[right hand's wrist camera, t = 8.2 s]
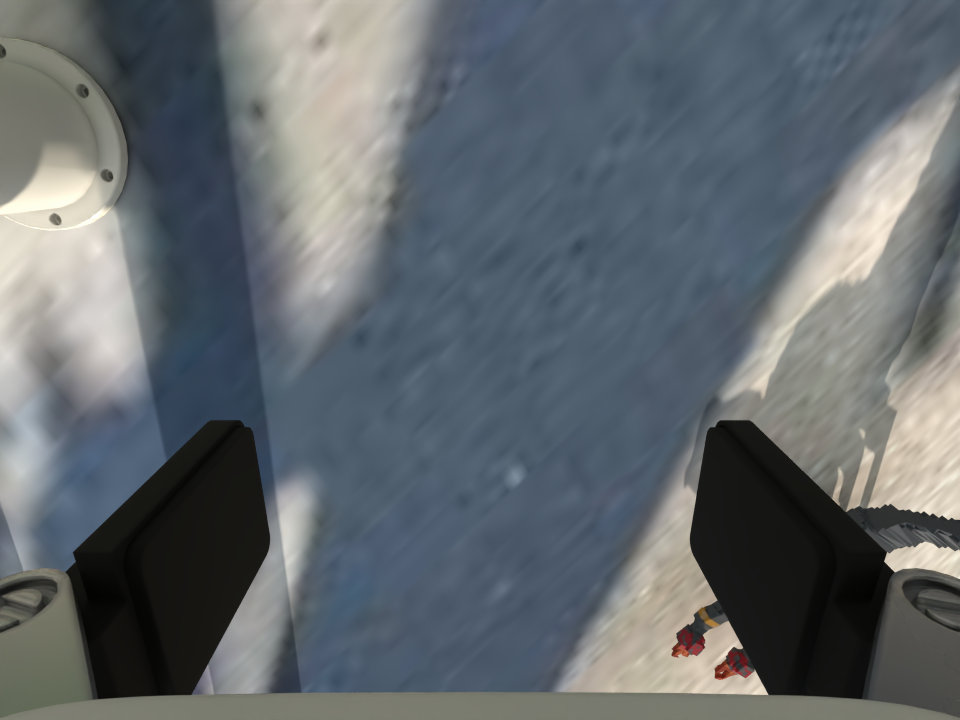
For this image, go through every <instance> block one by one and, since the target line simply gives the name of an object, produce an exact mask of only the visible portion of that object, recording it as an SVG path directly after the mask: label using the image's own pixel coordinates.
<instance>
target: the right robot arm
mask: <svg viewBox="0 0 960 720" xmlns="http://www.w3.org/2000/svg"><path fill="white" fill-rule="evenodd" d="M88 90H89V94H88ZM127 166H128V154H127V144H126V139H125V136H124V132H123V128H122V125H121V122H120V120H119V118H118V116H117V114H116V111H115V109H114V107H113V105H112V104H111V102H110V101H109V99H108V98H107V96H106V95H105V93H104V91H103V90H102V89H101V88H100V86H99V85H98V84H97V83H96V82H95V81H94V80H93V79H92V77H91V76H90V75H89V74H88V73H87V72H85V71H84V70H83V69H82V68H81V67H79V66H78V65H77V64H76V63H75V62H73V61H72V60H70V59H69V58H67V57H65V56H64V55H62V54H60V53H59V52H57V51H55V50H53V49H50V48H47V47H45V46H42V45H40V44H37V43H33V42H29V41H25V40H21V39H14V38H2V37H0V215H3V216H5V217H7V218H9V219H10V220H12V221H14V222H17V223H20V224H23V225H26V226H28V227H32V228H38V229H43V230H66V229H72V228H78V227H81V226H84V225H87V224H90V223H92V222H94V221H96V220H97V219H99V218H100V217H102V216H103V215H105V214H106V213H107V212H108V211H109V210H110V209H111V208H112V206H113V205H114V204H115V203H116V201H117V199H118V197H119V196H120V194H121V192H122V190H123V186H124V183H125V180H126V177H127ZM112 174H113V176H112ZM269 545H270V533H269V527H268V521H267V514H266V508H265V502H264V496H263V490H262V484H261V478H260V472H259V466H258V460H257V453H256V447H255V441H254V435H253V431H252V430H251V428H249V427H244V425H243V423H242V422H241V421H240V420H211V421H209V422H207V423H206V424H205V425H204V426H203V427H202V428H201V429H200V430H199V431H198V432H197V433H196V434H195V435H194V436H193V437H192V438H191V439H190V440H189V441H188V442H187V443H186V444H185V445H184V446H183V447H182V448H180V449H179V450H178V451H177V452H176V453H175V454H174V455H173V456H172V457H171V458H170V459H169V460H168V461H167V462H166V463H165V464H164V465H163V466H162V467H161V468H160V469H159V470H158V471H157V472H156V473H155V474H154V475H153V476H152V477H150V478H149V479H148V480H147V481H146V482H145V483H144V484H143V485H142V486H141V487H140V488H139V489H138V490H137V491H136V492H135V493H134V494H133V495H132V496H131V497H130V498H129V499H128V500H127V501H126V502H125V503H124V504H123V505H121V506H120V507H119V508H118V509H117V510H116V511H115V512H114V513H113V514H112V515H111V516H110V517H109V518H108V519H107V520H106V521H105V522H104V523H103V524H102V525H101V526H100V527H99V528H98V529H97V530H96V531H95V532H94V533H92V534H91V535H90V536H89V537H88V538H87V539H86V540H85V541H84V542H83V543H82V544H81V545H80V546H79V547H78V548H77V549H76V550H75V551H74V552H73V554H74V557H75V560H76V562H75V563H74V564H73V565H72V566H71V567H70V568H69V569H68V570H67V571H66V572H62V571H60V570H58V569H46V568H42V569H35V570H28V571H24V572H20V573H17V574H13V575H10V576H7V577H5V578H2V579H0V720H960V579H958V578H955V577H953V576H950V575H947V574H943V573H940V572H936V571H932V570H925V569H918V568H914V569H902V570H900V571H898V572H894V571H893V570H892V569H891V568H890V567H889V566H888V565H887V564H886V563H885V562H884V560H885V557H886V554H887V552H886V551H885V550H884V549H883V548H882V547H881V546H880V545H879V544H878V543H877V542H876V541H875V540H874V539H873V538H872V537H871V536H870V535H869V534H868V533H866V532H865V531H864V530H863V529H862V528H861V527H860V526H859V525H858V524H857V523H856V522H855V521H854V520H853V519H852V518H851V517H850V516H849V515H848V514H847V513H846V512H845V511H844V510H843V509H842V508H841V507H840V506H839V505H837V504H836V503H835V502H834V501H833V500H832V499H831V498H830V497H829V496H828V495H827V494H826V493H825V492H824V491H823V490H822V489H821V488H820V487H819V486H818V485H817V484H816V483H815V482H814V481H813V480H812V479H811V478H810V477H808V476H807V475H806V474H805V473H804V472H803V471H802V470H801V469H800V468H799V467H798V466H797V465H796V464H795V463H794V462H793V461H792V460H791V459H790V458H789V457H788V456H787V455H786V454H785V453H784V452H783V451H782V450H781V449H780V448H778V447H777V446H776V445H775V444H774V443H773V442H772V441H771V440H770V439H769V438H768V437H767V436H766V435H765V434H764V433H763V432H762V431H761V430H760V429H759V428H758V427H757V426H756V425H755V424H754V423H753V422H751V421H749V420H720V421H719V422H718V423H717V425H716V427H711V428H709V430H708V431H707V435H706V441H705V447H704V453H703V460H702V466H701V472H700V478H699V484H698V490H697V496H696V502H695V508H694V514H693V521H692V527H691V533H690V545H691V550H692V553H693V555H694V557H695V559H696V561H697V563H698V565H699V567H700V568H701V570H702V572H703V574H704V576H705V578H706V580H707V581H708V583H709V585H710V587H711V589H712V591H713V593H714V594H715V596H716V598H717V600H718V602H719V604H720V606H721V607H722V609H723V611H724V613H725V615H726V617H727V618H728V620H729V622H730V624H731V626H732V628H733V630H734V631H735V633H736V635H737V637H738V639H739V641H740V643H741V644H742V646H743V648H744V650H745V652H746V654H747V656H748V657H749V659H750V661H751V663H752V665H753V667H754V669H755V670H756V672H757V674H758V676H759V678H760V680H761V682H762V683H763V685H764V687H765V689H766V691H767V693H768V695H737V694H688V693H561V692H399V693H272V694H223V695H192V693H193V691H194V689H195V687H196V685H197V683H198V682H199V680H200V678H201V676H202V674H203V672H204V670H205V669H206V667H207V665H208V663H209V661H210V659H211V657H212V656H213V654H214V652H215V650H216V648H217V646H218V644H219V643H220V641H221V639H222V637H223V635H224V633H225V631H226V630H227V628H228V626H229V624H230V622H231V620H232V618H233V617H234V615H235V613H236V611H237V609H238V607H239V606H240V604H241V602H242V600H243V598H244V596H245V594H246V593H247V591H248V589H249V587H250V585H251V583H252V581H253V580H254V578H255V576H256V574H257V572H258V570H259V568H260V567H261V565H262V563H263V561H264V559H265V557H266V555H267V553H268V550H269Z"/></svg>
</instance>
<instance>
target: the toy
mask: <svg viewBox="0 0 960 720" xmlns="http://www.w3.org/2000/svg"><path fill="white" fill-rule="evenodd" d="M846 513H847V514H848V515H849V516H850V517H851V518H852V519H853V520H854V521H855V522H856V523H857V524H858V525H859V526H860V527H861V528H862V529H863V530H864V531H865V532H866V533H868V534H869V535H870V536H871V537H872V538H873V539H874V540H875V541H876V542H877V543H878V544H879V545H880V546H881V547H882V548H883V549H884V550H885V551H886V552H888V553H891V552H892V551H893V550H894V549H897V548H903V547H906V546H907V547H911V546H912V545H913V546H914V547H916V546H917V545H918V544H919V543H923V542H924V541H926V542H929V543H933V544H934V545H936V546H937V547H938V548H941V547H942V546H943V547H944V548H946V547H950V548H951V549H953V550H954V551H956V550H958V549H959V550H960V520H954V519H953V518H951V519H949V520H947V519H946V518H945V517H943V516H941V517H940V518H938V517H937V516H936V515H934V514H931V515H930V516H929V515H928V514H927V513H925V512H922V513H921V514H920V513H919V512H914V513H913V512H912V511H911V510H906V511H905V510H898V509H897V508H895V507H894V506H893V505H891V504H890V505H889V506H887V505H886V504H885V505H884V506H883V507H881V508H880V509H879V508H878V507H876V508H875V509H874V508H872V507H871V508H868V509H863V508H862V507H860V506H859V507H857V508H855V509H851V510H849V511H847V512H846ZM694 617H695V621H694V622H693V623H692V624H691V625H689V624H688V625H687V626H685V627H684V628H683V629H682V630H680V631H679V632H678V633H677V639H678V643H677V644H676V645H675V646H674V647H673V648H672V650H673V652H672V656H674V657H678V656H677V655H679V654H681V653H682V655H683V656H685V657H688V655H689V654H690V655H693V654H694V655H696V656H697V655H698V654H700V653H701V652H702V650H703V649H704V648H705V646H704V644H705V639H704V637H703V634H704V633H706V632H707V631H708V630H709V629H712V628H714V627H717V626H719V625H721V624H722V623H724V622H726V621H729V620H728V618H727V617H726V615H725V613H724V611H723V609H722V607H721V606H720V604H719V602H718V601H716V602H715V603H713V604H711V605H709V606H706V607H704V608H703V607H702V608H701V609H700V610H699V611H698V612H696V613H695V614H694ZM678 658H679V657H678ZM726 658H727V659H726V660H725V661H724V662H723V663H722V664H720V665H718V666H717V667H716V668H715V678H716V679H719V680H722V679H725V678H727V677H729V676H732V675H737V674H740V675H741V676H743V677H744V678H746V677H748V676H749V675H750V674H751V673H753V672H754V671H755V670H754V667H753V665H752V663H751V661H750V659H749V657H748V656H747V654H746V652H745V650H744V648H743V649H737V648H735V647H733V648H732V649H731V650H730V651H729V652H728V655H727V656H726ZM722 671H724V672H723V673H722V674H720V672H722Z"/></svg>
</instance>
